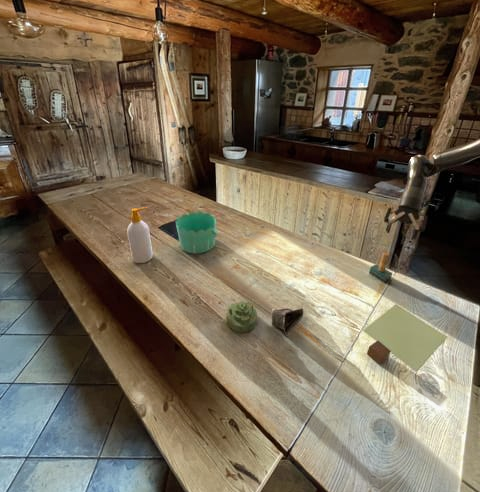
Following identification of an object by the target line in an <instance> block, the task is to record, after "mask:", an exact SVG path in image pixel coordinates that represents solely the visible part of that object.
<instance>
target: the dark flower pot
mask: <svg viewBox="0 0 480 492" xmlns="http://www.w3.org/2000/svg"><path fill="white" fill-rule="evenodd" d="M304 313H305V311H304V308H303V307H302V308H299V309H295V310H294V309H291V308H287V307H284V308H282V307H278V308H272V310H271V315H270V317H271V318H270V319H271V321H270V322H271V325H272V326H274V327H276V328H278V329H281V330H283V331H284V334H285V336H289V335H290V334H291V332H293V330H294V328H296V326H297V325H298V323H299V322H300V321H301V320H302V319H303V317H304Z"/></svg>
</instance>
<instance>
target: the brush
mask: <svg viewBox="0 0 480 492" xmlns="http://www.w3.org/2000/svg"><path fill="white" fill-rule="evenodd" d="M390 255H391V254H390V253H389V252H387V251H383V252H382V255H381V258H380V262H379V264H377V263H375V264H373V265H371V266H370V268H369V272H368V273H369V275H371V276H373V277H374V278H376V279H377V280H379V281H381V282H383V284H386V283H387V282H389V281H391V279H392V276H393V272H391V271H389V270H388V269H387V265H388V262H389V259H390Z"/></svg>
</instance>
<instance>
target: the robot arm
mask: <svg viewBox="0 0 480 492" xmlns="http://www.w3.org/2000/svg"><path fill="white" fill-rule="evenodd" d="M432 158H433V159H432V160H430V158H428V157H427V156H426V155H424V154H416V155H414V156H412V157H411V158H410V159H409V161H408V164H407V171H406V172H407V180H406V184H405V186H404V189H403V192H401V193H402V194H401V196H400V199H399V203H398V206H397V208H396V209H394V208H392V207H388V208H387V211H386V213H385V216H384V218H383V222H384V223H386V224H387V225H386V228H385V231H386V233H387V234H390V232H391V229H392V226H393V224H394V223H397V222H400V223H404V224H405V225H406V224H407V225H409V224H410V225H411V227H412V228H413V233H412V236H411V240H412V241H414V240H416V239H417V237H418V233H419V232H422V233H423V232H425V230H426V227H427V223H428V215H420V210H421V208H422V204H423V201H424V198H425V192H426V189H427V185H428V180H427V178H430V177H432V176H434V175H436V174H438V173H440V172H442V171H444V170H446V169H449V168H450V169H451V168H453V167H458V166H461V165H465V164H467V163H469V162H471V161H473V160H476V159H477V158H480V137H479V138H477V139H474V140H472V141H468V142H466V143H463V144H460V145H456V146H454V147H451V148H448V149H444V150H442V151H439V152H436V153H435V154H434V155H433V157H432ZM393 214H394V215H395V216H393V217H392V218H390V216H391V215H393ZM389 218H390V219H389ZM417 220H419V221H420V222H421V225H420V226H419V225H418V223H417Z"/></svg>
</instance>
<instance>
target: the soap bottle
mask: <svg viewBox="0 0 480 492" xmlns="http://www.w3.org/2000/svg"><path fill="white" fill-rule="evenodd" d="M148 209H149V208H148V207H139V208H137V207H135V208H133V207H132V208H131V209H130V210H131V216H130V219H131V222H130V223H129V225H128V226H127V229H126V234H127V239H128V244H129V249H130V250H129V251H130V254H131V259H132V261H133V262H134V263H135V264H145V263H147V262H149V261H151V259H152V258H153V256H154V254H153V253H154V252H153V246H152V240H151V234H150V228H149V225H148V224H147V223H146V222H145V221H144V220H142V218H141V214H139V212H140V211H143V210H148Z"/></svg>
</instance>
